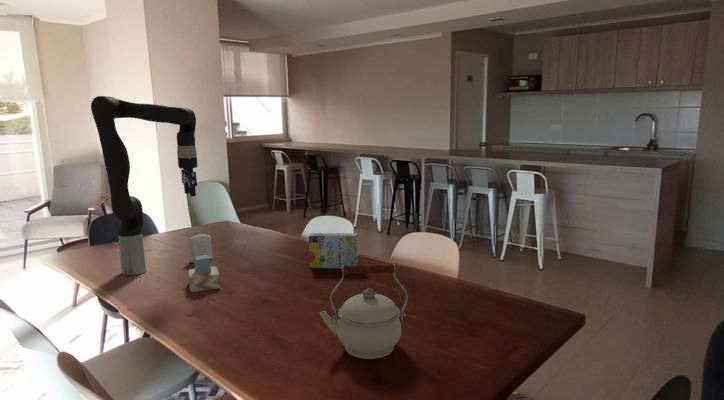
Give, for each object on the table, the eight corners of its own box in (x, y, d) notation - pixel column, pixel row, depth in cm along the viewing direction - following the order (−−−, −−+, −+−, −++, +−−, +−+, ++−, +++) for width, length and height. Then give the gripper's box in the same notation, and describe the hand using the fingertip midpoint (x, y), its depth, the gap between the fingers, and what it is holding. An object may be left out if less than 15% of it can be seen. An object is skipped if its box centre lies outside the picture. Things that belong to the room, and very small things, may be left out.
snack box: (358, 265, 207) (357, 232, 204) (356, 269, 202) (356, 235, 199) (312, 264, 209) (311, 232, 207) (309, 268, 204) (308, 235, 201)
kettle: (403, 331, 142) (403, 254, 138) (411, 362, 124) (412, 274, 119) (322, 333, 141) (320, 255, 137) (318, 365, 123) (316, 276, 119)
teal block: (198, 274, 179) (197, 259, 178) (195, 271, 183) (194, 256, 182) (211, 272, 182) (210, 257, 181) (207, 268, 186) (206, 254, 185)
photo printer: (209, 257, 222) (208, 232, 220) (214, 258, 219) (212, 233, 217) (189, 261, 215) (187, 236, 213) (193, 263, 212) (191, 237, 210)
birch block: (190, 292, 177) (189, 278, 176) (189, 283, 187) (188, 269, 186) (220, 288, 181) (219, 274, 180) (217, 279, 191) (216, 265, 190)
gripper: (173, 156, 195) (176, 193, 198) (182, 158, 183) (185, 198, 186) (191, 155, 199) (194, 192, 202) (201, 157, 188) (204, 196, 191)
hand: (190, 194), depth 194 cm, fingers open, 8 cm apart
